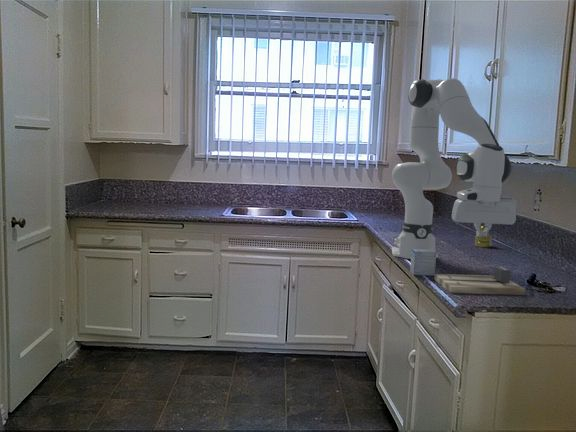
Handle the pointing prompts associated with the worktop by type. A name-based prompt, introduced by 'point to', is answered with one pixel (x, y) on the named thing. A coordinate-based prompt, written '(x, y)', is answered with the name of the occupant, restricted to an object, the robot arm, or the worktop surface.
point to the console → (477, 284)
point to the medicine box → (423, 262)
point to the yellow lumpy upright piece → (483, 239)
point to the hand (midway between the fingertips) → (481, 236)
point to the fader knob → (502, 274)
